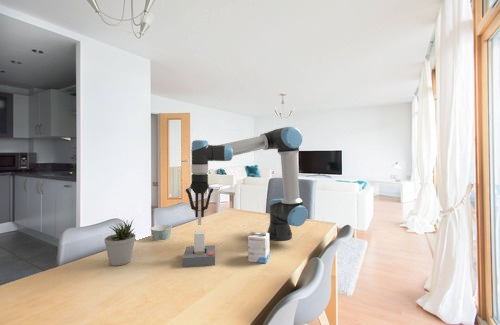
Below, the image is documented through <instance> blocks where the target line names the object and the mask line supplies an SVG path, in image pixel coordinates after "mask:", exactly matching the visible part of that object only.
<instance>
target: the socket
mask: <svg viewBox="0 0 500 325" xmlns="http://www.w3.org/2000/svg"><path fill="white" fill-rule="evenodd" d="M206 266H207V267H208V266H216V245H214V244H213V245H205V253H204V254H194V245H193V246H186V247H185V250H184V252H183V256H182V268H190V267H191V268H193V267H206Z"/></svg>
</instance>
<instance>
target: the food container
mask: <svg viewBox="0 0 500 325" xmlns="http://www.w3.org/2000/svg"><path fill="white" fill-rule="evenodd" d="M172 228H173V226H172V225H169V224H158V225H154V226H152V227H151V228H150V231H151V234H152V240H153V241H155V240H164V241H167V240H170V237H171V232H172ZM166 239H167V240H166Z"/></svg>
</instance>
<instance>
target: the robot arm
mask: <svg viewBox="0 0 500 325" xmlns="http://www.w3.org/2000/svg"><path fill="white" fill-rule="evenodd" d="M302 143H303V135H302V132H301V131H300V130H299V129H298V128H297V127H296V126H284V127H281V128H276V129H272V130H270V131H268V132H265V133H261V134H259V136H254V137H249V138H245V139H241V140H235V141H232V142H231V141H230V142H226V143H223V144H222V143H221V144H218V145H215V144H214V145H213V144H209V141H207V140H204V139H203V140H202V139H201V140H200V139H197V140H193V141H192V142H191V150H190V151H191V164H190V166H191V176H190V177H191V182H190V183H191V184H190V186H189V187H187V188H186V189H185V192H186V193H187V196H188V200H189V201H188V202H189V205H190V208H191V209H192V210H193V211H195V213H194V214H195V218H197V225H198V226H201V225H202V218H204V216H205V210H207V209H208V208H209V204H210V201H211V196H212V194H213V191H214V188H213V187H211V186H210V184H209V175H208V173H209V162H230V161H232V160H233V157H235V156H238V155H243V154H248V153H251V152H256V151H260V150H264V151H267V150H277V154H279V155H280V163H281V164H280V165H281V177H282V189H283V192H282V193H283V198H273V199H270V201H269V226H268V229H267V231H266V233H269V240H272V241H280V242H281V241H288V240H291V239H292V238H293V232H292V229H291V227H301V226H302V225H304V224H305V222H306V221H307V219H308V216H309V213H308V212H309V211H308V209H307V208H306V207H305V206H304V203H303V202H304V201H303V199H302V198H301V197H300V196H301V195H300V182H299V171H298V157H297V156H298V155H297V154H298V153H299V152H300V148H299V147H300V146H301V145H302ZM192 191H193V193H194V195H195V196H194V197H195V198H194V199H195V202H194V199H193V196H192ZM206 192H208V194H207V198H206V202H205V193H206ZM199 194H200V209H199ZM194 203H195V205H194Z"/></svg>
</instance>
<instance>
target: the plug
mask: <svg viewBox="0 0 500 325" xmlns="http://www.w3.org/2000/svg"><path fill="white" fill-rule="evenodd" d="M205 234H206V233H205V230H197V231H194V234H193V235H194V236H193V241H194V242H193V246H194V254H204V253H205V246H206V245H205V243H206V242H205V237H206V236H205Z"/></svg>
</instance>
